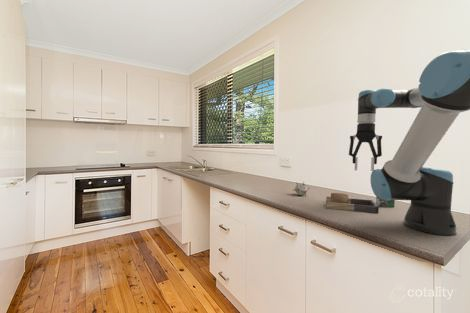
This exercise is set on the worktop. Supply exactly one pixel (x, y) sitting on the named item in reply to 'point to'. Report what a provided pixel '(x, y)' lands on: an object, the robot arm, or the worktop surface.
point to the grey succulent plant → (301, 189)
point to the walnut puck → (339, 198)
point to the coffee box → (384, 202)
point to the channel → (354, 205)
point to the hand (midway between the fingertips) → (363, 170)
